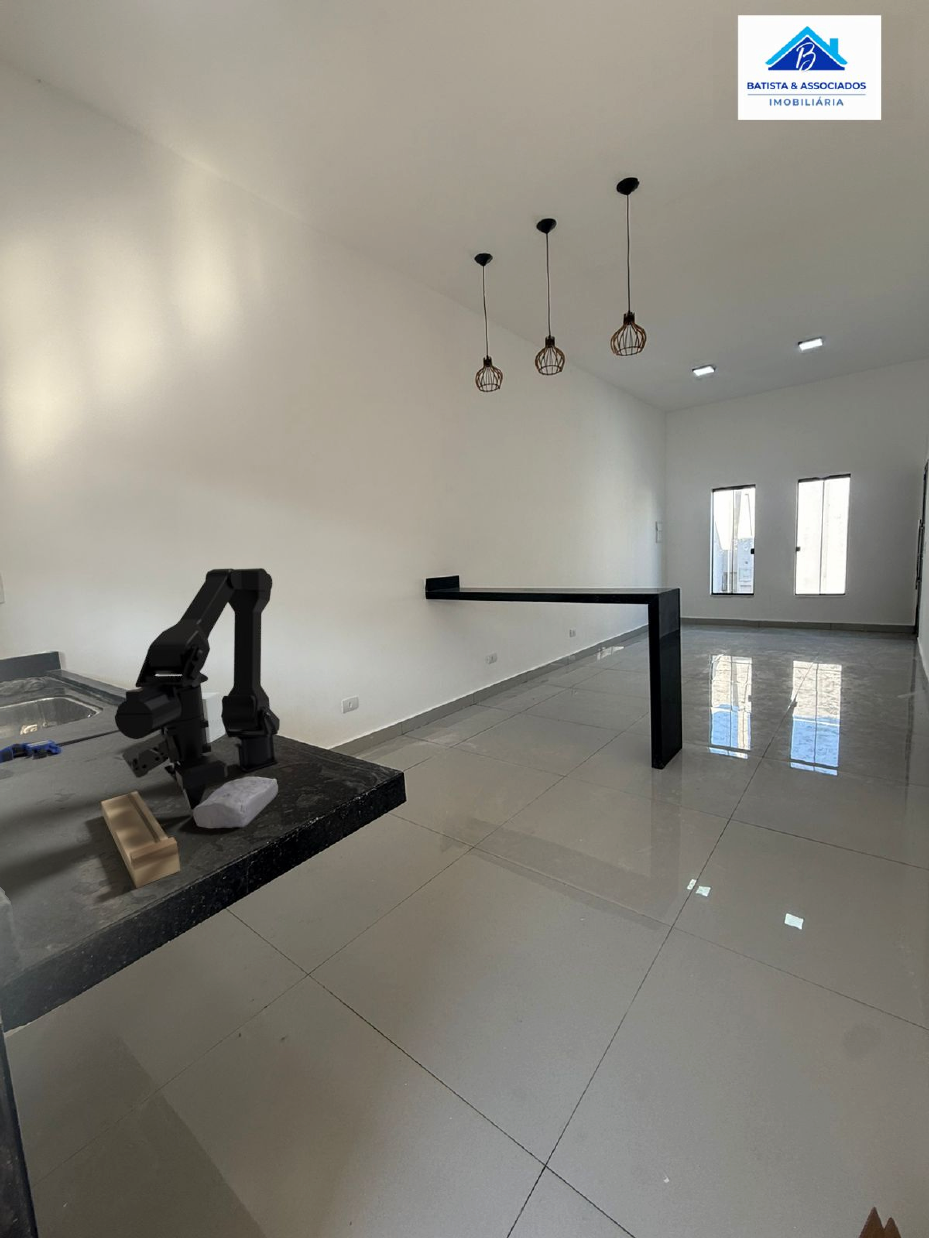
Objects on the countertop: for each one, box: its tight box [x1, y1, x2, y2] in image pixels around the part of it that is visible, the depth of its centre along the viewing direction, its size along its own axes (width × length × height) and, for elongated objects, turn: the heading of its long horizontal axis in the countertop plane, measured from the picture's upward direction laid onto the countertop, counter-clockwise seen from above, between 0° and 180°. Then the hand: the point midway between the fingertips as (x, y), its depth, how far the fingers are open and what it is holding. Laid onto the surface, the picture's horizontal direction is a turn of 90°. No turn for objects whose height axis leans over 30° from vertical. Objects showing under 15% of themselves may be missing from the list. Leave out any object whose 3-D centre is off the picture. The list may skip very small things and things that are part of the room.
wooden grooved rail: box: [100, 791, 181, 889], centre depth 75 cm, size 5×26×4 cm, turn 43°
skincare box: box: [202, 692, 226, 744], centre depth 117 cm, size 10×6×10 cm, turn 83°
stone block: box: [193, 776, 279, 829], centre depth 83 cm, size 12×5×10 cm
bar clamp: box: [0, 729, 120, 764], centre depth 120 cm, size 32×2×10 cm
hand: (194, 807), depth 82 cm, fingers closed
